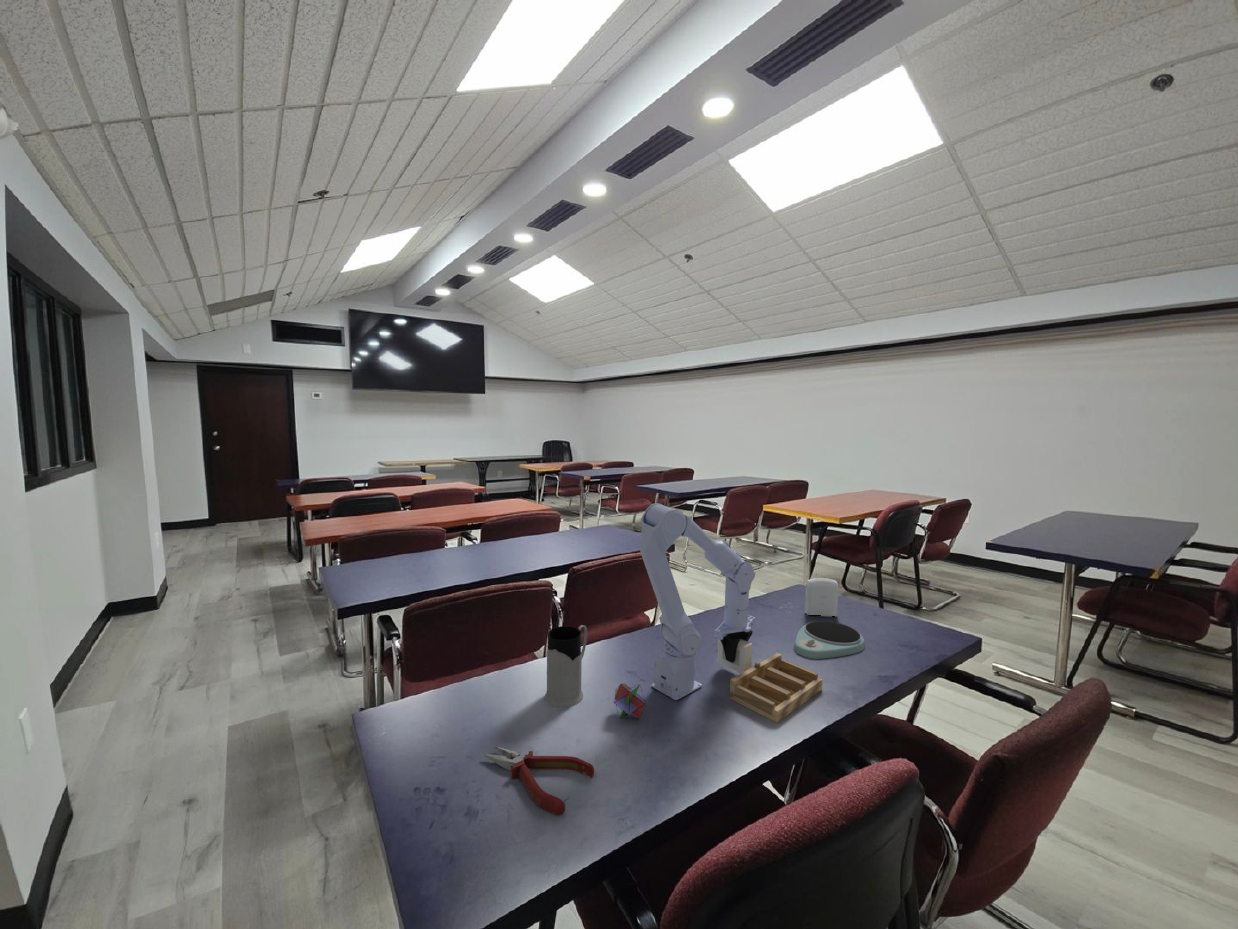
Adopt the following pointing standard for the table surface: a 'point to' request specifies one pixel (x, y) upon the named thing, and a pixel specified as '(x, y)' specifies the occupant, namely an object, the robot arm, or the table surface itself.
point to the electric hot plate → (827, 640)
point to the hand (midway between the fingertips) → (734, 658)
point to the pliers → (523, 764)
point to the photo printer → (821, 597)
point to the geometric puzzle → (629, 700)
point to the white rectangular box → (737, 656)
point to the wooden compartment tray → (774, 687)
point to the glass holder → (564, 666)
